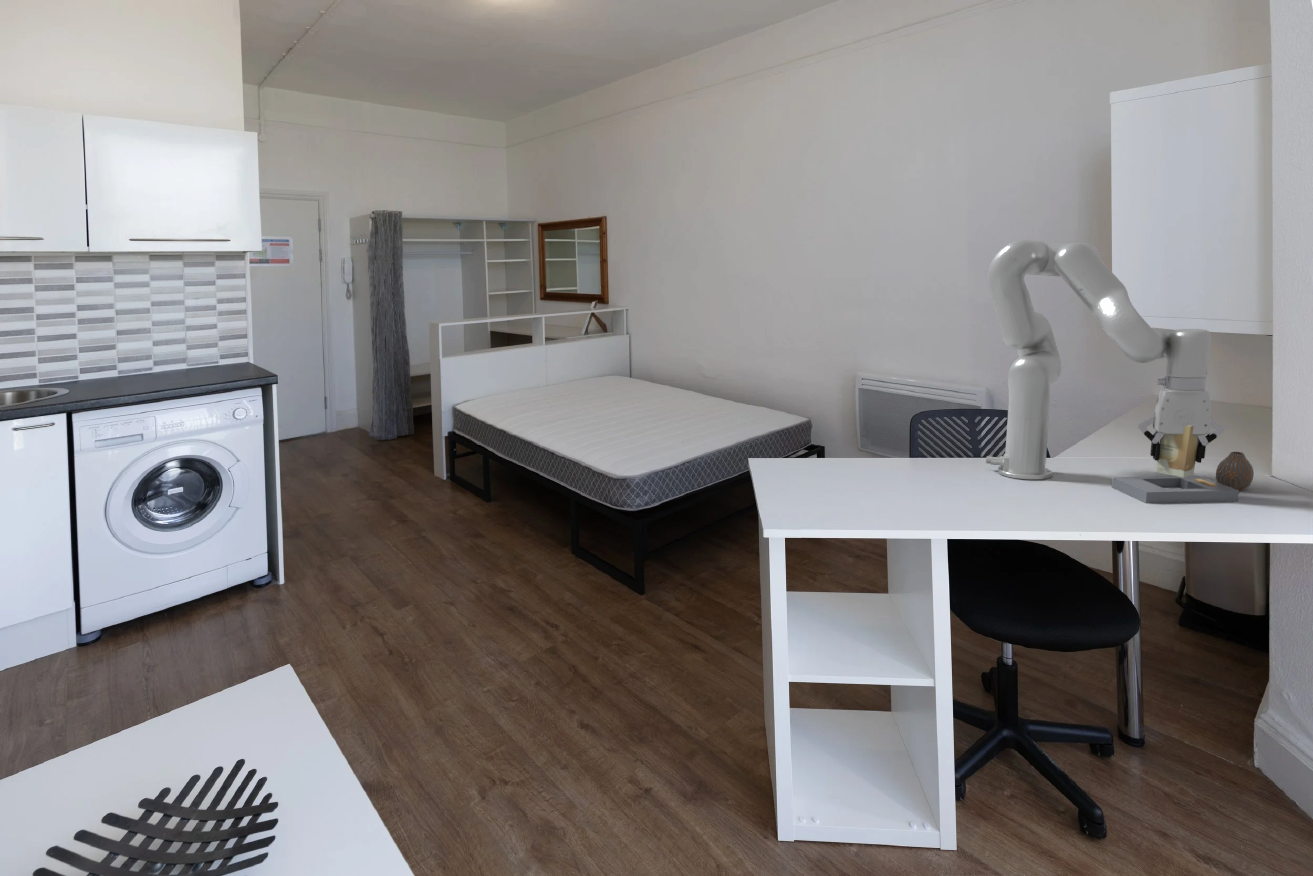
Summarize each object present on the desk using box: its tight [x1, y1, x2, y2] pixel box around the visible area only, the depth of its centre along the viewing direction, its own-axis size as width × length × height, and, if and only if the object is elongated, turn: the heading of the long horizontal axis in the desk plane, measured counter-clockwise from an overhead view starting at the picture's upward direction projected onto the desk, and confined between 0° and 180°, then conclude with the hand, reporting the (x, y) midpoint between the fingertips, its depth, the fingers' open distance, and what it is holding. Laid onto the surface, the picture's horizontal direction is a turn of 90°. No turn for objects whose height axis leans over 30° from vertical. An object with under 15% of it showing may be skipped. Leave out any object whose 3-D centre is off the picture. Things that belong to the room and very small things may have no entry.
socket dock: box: [1111, 475, 1240, 504], centre depth 166 cm, size 20×13×3 cm, turn 88°
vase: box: [1215, 451, 1255, 492], centre depth 168 cm, size 7×7×9 cm
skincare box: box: [1155, 425, 1199, 478], centre depth 164 cm, size 6×4×12 cm
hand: (1176, 459), depth 164 cm, fingers closed on skincare box, 7 cm apart
